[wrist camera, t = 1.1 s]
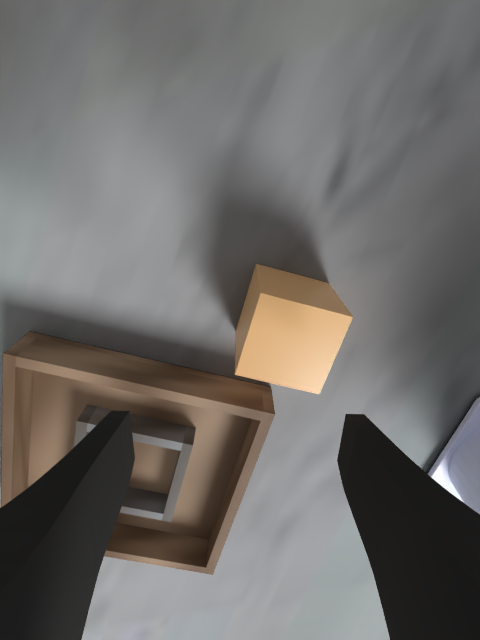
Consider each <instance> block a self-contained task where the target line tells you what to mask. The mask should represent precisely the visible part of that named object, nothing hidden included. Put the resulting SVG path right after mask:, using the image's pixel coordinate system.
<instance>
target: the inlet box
mask: <svg viewBox="0 0 480 640" xmlns="http://www.w3.org/2000/svg"><path fill="white" fill-rule="evenodd" d="M110 411H130V418H131V427H132V435H133V444H134V453H135V461H134V466H133V470H132V475H131V479H130V483H129V487H128V490H127V493H126V496H125V499H124V502H123V504H122V507H121V510H120V513H119V516H118V518H117V521H116V524H115V527H114V529H113V532H112V535H111V538H110V540H109V543H108V546H107V549H106V551H105V554H104V556H106V557H112V558H118V559H124V560H130V561H136V562H142V563H147V564H153V565H159V566H165V567H171V568H177V569H183V570H188V571H194V572H200V573H206V574H212V575H213V573H214V570H215V567H216V565H217V562H218V560H219V557H220V555H221V552H222V549H223V547H224V544H225V542H226V539H227V537H228V534H229V531H230V529H231V526H232V524H233V521H234V518H235V516H236V513H237V511H238V508H239V506H240V503H241V500H242V498H243V495H244V493H245V490H246V488H247V485H248V482H249V480H250V477H251V475H252V472H253V470H254V467H255V464H256V462H257V459H258V457H259V454H260V452H261V449H262V446H263V444H264V441H265V439H266V436H267V434H268V431H269V428H270V426H271V423H272V421H273V418H274V416H275V411H274V404H273V397H272V390H271V387H267V386H263V385H258V384H254V383H250V382H245V381H241V380H237V379H232V378H228V377H224V376H220V375H215V374H211V373H207V372H202V371H198V370H194V369H189V368H185V367H181V366H177V365H172V364H168V363H164V362H159V361H155V360H151V359H146V358H142V357H138V356H134V355H129V354H125V353H121V352H116V351H112V350H108V349H103V348H99V347H95V346H91V345H86V344H82V343H78V342H73V341H69V340H65V339H60V338H56V337H52V336H48V335H43V334H39V333H35V332H28V333H27V334H26V335H25V336H24V337H22V338H21V339H20V340H19V341H18V342H16V343H15V344H14V345H13V346H12V347H10V348H9V349H8V350H7V351H6V352H4V353H3V399H2V458H1V507H3V506H4V505H5V504H7V503H8V502H10V501H11V500H12V499H14V498H15V497H16V496H18V495H19V494H20V493H22V492H23V491H24V490H26V489H27V488H28V487H29V486H31V485H32V484H33V483H34V482H36V481H37V480H38V479H39V478H40V477H42V476H43V475H44V474H45V473H46V472H47V471H48V470H50V469H51V468H52V467H53V466H54V465H55V464H56V463H58V462H59V461H60V460H61V459H62V458H63V457H64V456H65V455H66V454H67V453H69V452H70V451H71V450H72V449H73V448H74V447H75V446H76V445H77V444H78V443H79V442H80V441H81V440H82V439H83V438H84V437H85V436H86V435H87V434H88V433H89V432H90V431H91V430H92V429H93V428H94V427H95V426H96V425H97V424H98V423H99V422H100V421H101V420H102V419H103V418H104V417H105V416H106V415H107V414H108V413H109V412H110Z"/></svg>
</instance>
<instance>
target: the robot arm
mask: <svg viewBox="0 0 480 640" xmlns="http://www.w3.org/2000/svg"><path fill="white" fill-rule="evenodd" d="M134 461H135V453H134V444H133V435H132V427H131V418H130V411H110V412H109V413H108V414H107V415H106V416H105V417H104V418H103V419H102V420H101V421H100V422H99V423H98V424H97V425H96V426H95V427H94V428H93V429H92V430H91V431H90V432H89V433H88V434H87V435H86V436H85V437H84V438H83V439H82V440H81V441H80V442H79V443H78V444H77V445H76V446H75V447H74V448H73V449H72V450H71V451H70V452H69V453H67V454H66V455H65V456H64V457H63V458H62V459H61V460H60V461H59V462H58V463H56V464H55V465H54V466H53V467H52V468H51V469H50V470H48V471H47V472H46V473H45V474H44V475H43V476H42V477H40V478H39V479H38V480H37V481H36V482H34V483H33V484H32V485H31V486H29V487H28V488H27V489H26V490H24V491H23V492H22V493H20V494H19V495H18V496H16V497H15V498H14V499H12V500H11V501H10V502H8V503H7V504H5V505H4V506H3V507H1V508H0V640H81V639H82V635H83V631H84V626H85V622H86V618H87V614H88V610H89V606H90V603H91V599H92V595H93V591H94V588H95V584H96V580H97V576H98V573H99V569H100V566H101V563H102V560H103V557H104V554H105V551H106V549H107V546H108V543H109V540H110V538H111V535H112V532H113V529H114V527H115V524H116V521H117V518H118V516H119V513H120V510H121V507H122V504H123V502H124V499H125V496H126V493H127V490H128V487H129V483H130V479H131V475H132V470H133V466H134ZM337 461H338V466H339V470H340V475H341V479H342V484H343V488H344V491H345V494H346V497H347V500H348V503H349V506H350V508H351V511H352V514H353V517H354V520H355V522H356V525H357V528H358V531H359V533H360V536H361V539H362V542H363V544H364V547H365V550H366V553H367V555H368V558H369V561H370V564H371V567H372V571H373V574H374V577H375V581H376V585H377V589H378V593H379V596H380V600H381V604H382V608H383V612H384V616H385V620H386V624H387V628H388V632H389V636H390V640H480V397H479V398H477V399H476V400H475V402H474V403H473V405H472V407H471V408H470V410H469V411H468V413H467V414H466V416H465V417H464V419H463V420H462V422H461V424H460V425H459V427H458V428H457V430H456V431H455V433H454V434H453V436H452V437H451V439H450V440H449V442H448V444H447V445H446V447H445V448H444V450H443V451H442V453H441V454H440V456H439V457H438V459H437V460H436V462H435V464H434V465H433V467H432V468H431V470H430V471H429V473H428V474H427V473H426V472H424V471H423V470H422V469H421V468H420V467H419V466H417V465H416V464H415V463H414V462H413V461H412V460H411V459H410V458H409V457H407V456H406V455H405V454H404V453H403V452H402V451H401V450H400V449H399V448H398V447H397V446H396V445H395V444H394V443H393V442H392V441H391V440H390V439H389V438H388V437H387V436H386V435H385V434H383V433H382V432H381V431H380V430H379V429H378V428H377V427H376V426H375V425H374V424H373V423H372V422H371V421H370V420H369V419H368V418H367V417H366V416H365V415H364V414H346V416H345V422H344V427H343V432H342V438H341V443H340V449H339V454H338V460H337ZM462 501H464V503H463V502H462Z"/></svg>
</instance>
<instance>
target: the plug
mask: <svg viewBox="0 0 480 640" xmlns="http://www.w3.org/2000/svg"><path fill="white" fill-rule="evenodd" d="M352 318H353V316H352V315H351V313H350V312H349V311H348V309H347V308H346V306H345V305H344V304H343V302H342V301H341V299H340V298H339V297H338V295H337V294H336V292H335V291H334V289H333V288H332V287H331V285H330V284H329V283H326V282H322V281H319V280H315V279H311V278H308V277H304V276H300V275H296V274H293V273H289V272H285V271H282V270H278V269H274V268H271V267H267V266H263V265H259V264H256V266H255V269H254V272H253V276H252V279H251V282H250V286H249V289H248V292H247V296H246V299H245V302H244V306H243V309H242V312H241V316H240V319H239V322H238V325H237V329H236V343H235V375H239V376H243V377H247V378H251V379H256V380H260V381H264V382H268V383H273V384H277V385H281V386H285V387H290V388H294V389H298V390H302V391H307V392H311V393H315V394H320V392H321V389H322V387H323V385H324V382H325V380H326V378H327V376H328V373H329V371H330V369H331V366H332V364H333V362H334V360H335V357H336V355H337V353H338V350H339V348H340V346H341V344H342V341H343V339H344V337H345V334H346V332H347V330H348V328H349V325H350V323H351V321H352Z"/></svg>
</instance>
